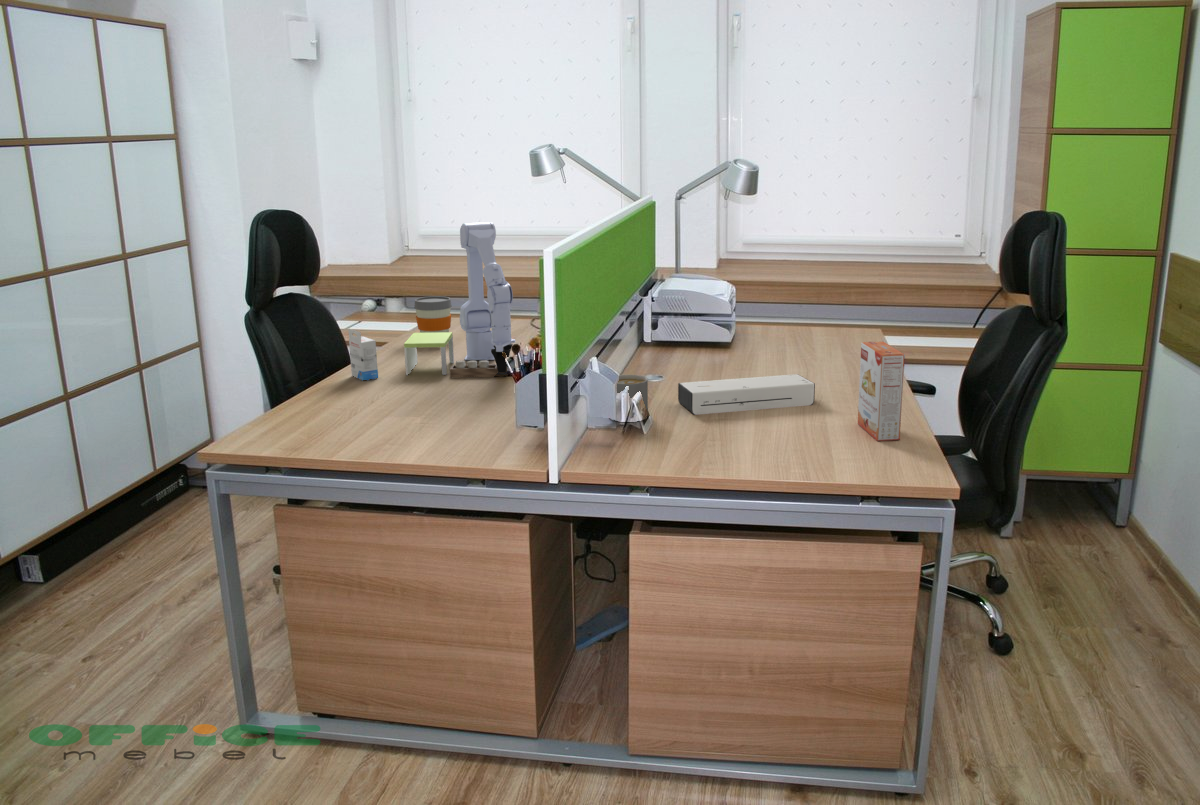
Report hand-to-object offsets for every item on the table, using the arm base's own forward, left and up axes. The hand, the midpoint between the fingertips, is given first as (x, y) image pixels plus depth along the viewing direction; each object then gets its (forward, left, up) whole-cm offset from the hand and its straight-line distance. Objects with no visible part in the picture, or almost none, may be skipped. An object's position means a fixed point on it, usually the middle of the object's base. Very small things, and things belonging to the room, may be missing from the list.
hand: (502, 370), depth 303 cm
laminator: (-68, +35, -2) cm, 76 cm away
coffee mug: (-35, +47, -2) cm, 59 cm away
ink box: (+41, +1, -2) cm, 41 cm away
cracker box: (-96, +62, -2) cm, 114 cm away
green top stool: (+23, -9, -1) cm, 25 cm away
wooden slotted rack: (+7, 0, -1) cm, 7 cm away
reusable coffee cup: (+28, -48, -2) cm, 56 cm away
